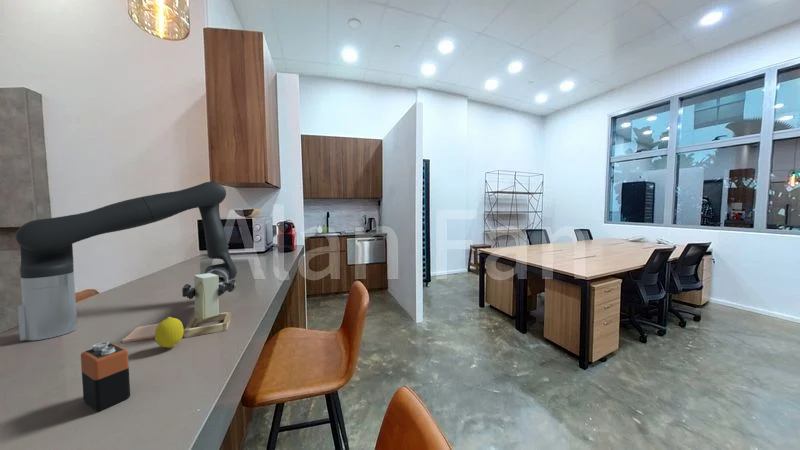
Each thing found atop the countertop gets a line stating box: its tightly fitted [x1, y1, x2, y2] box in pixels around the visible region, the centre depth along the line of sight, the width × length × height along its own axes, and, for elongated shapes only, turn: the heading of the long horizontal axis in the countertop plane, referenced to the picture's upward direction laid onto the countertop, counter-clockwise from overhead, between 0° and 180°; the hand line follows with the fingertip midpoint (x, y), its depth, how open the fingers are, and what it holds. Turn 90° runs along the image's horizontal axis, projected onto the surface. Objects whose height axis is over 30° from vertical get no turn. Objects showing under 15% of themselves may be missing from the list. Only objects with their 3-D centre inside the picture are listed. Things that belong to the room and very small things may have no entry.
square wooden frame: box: [183, 311, 232, 339], centre depth 80 cm, size 10×11×2 cm
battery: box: [80, 341, 131, 412], centre depth 49 cm, size 4×7×10 cm, turn 63°
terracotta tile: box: [121, 323, 159, 344], centre depth 78 cm, size 10×10×1 cm
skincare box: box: [194, 273, 220, 319], centre depth 80 cm, size 6×4×12 cm
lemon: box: [154, 316, 185, 349], centre depth 68 cm, size 6×6×8 cm
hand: (205, 293), depth 78 cm, fingers closed on skincare box, 6 cm apart
